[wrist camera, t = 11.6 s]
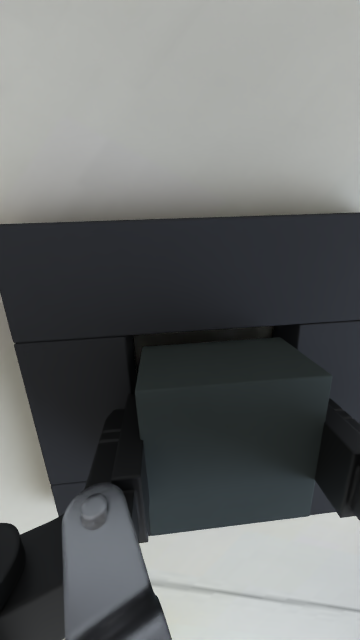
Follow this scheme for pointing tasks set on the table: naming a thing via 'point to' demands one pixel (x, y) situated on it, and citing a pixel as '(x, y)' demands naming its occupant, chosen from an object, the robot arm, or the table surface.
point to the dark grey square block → (229, 432)
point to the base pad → (168, 310)
